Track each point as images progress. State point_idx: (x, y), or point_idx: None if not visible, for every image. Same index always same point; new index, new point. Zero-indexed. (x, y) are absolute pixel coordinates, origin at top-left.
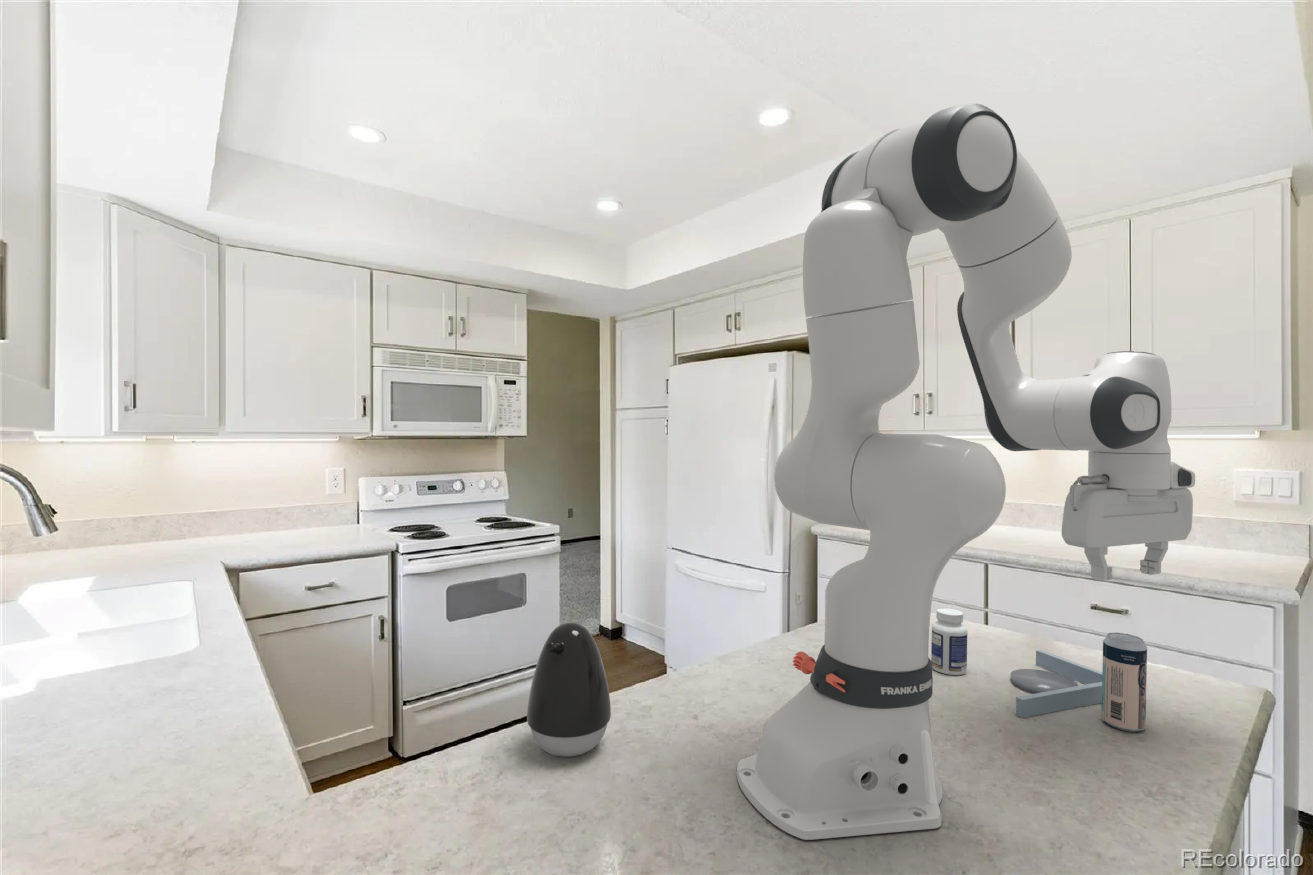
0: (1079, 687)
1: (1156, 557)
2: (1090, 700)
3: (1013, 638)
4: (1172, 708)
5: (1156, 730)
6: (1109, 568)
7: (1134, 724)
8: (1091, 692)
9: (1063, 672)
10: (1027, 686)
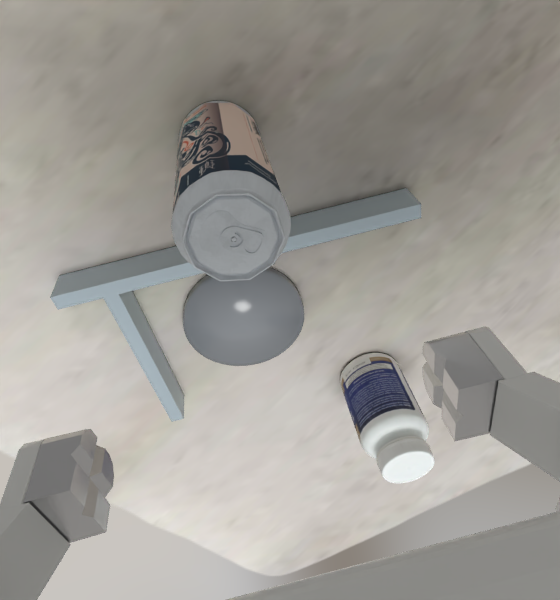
0: None
1: (17, 541)
2: None
3: (137, 490)
4: (26, 214)
5: (158, 112)
6: (480, 378)
7: (228, 106)
8: None
9: (163, 360)
10: (300, 298)
